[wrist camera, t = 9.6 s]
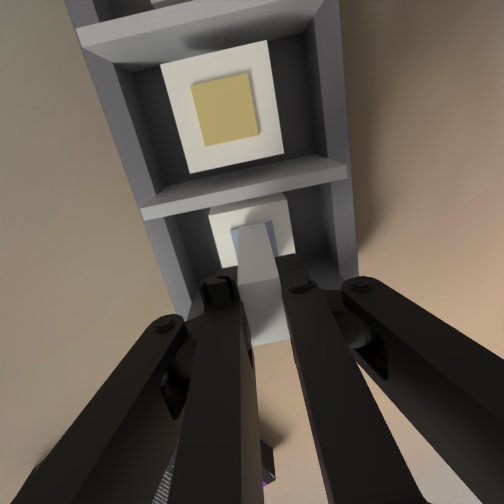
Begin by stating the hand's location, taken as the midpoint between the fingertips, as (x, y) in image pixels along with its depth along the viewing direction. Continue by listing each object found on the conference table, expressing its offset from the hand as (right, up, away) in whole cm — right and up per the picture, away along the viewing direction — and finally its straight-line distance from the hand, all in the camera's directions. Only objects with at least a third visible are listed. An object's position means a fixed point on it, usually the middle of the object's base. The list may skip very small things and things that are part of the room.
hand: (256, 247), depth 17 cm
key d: (-1, +7, -2) cm, 7 cm away
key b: (0, +1, +3) cm, 3 cm away
